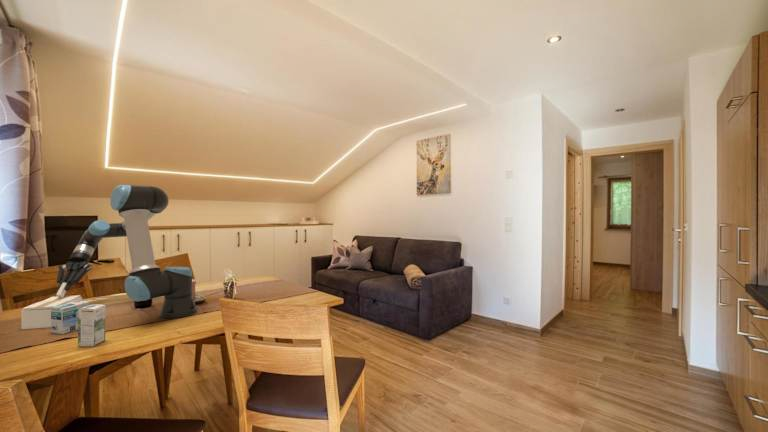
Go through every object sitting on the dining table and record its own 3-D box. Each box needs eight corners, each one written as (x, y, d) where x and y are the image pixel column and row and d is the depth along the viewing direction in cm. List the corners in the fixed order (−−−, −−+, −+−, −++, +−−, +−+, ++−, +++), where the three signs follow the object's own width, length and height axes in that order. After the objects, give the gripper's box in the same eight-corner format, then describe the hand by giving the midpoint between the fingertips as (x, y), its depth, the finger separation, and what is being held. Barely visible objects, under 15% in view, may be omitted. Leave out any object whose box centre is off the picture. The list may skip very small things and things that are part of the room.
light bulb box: (62, 334, 133) (62, 308, 132) (50, 333, 134) (49, 307, 134) (91, 325, 143) (90, 301, 143) (79, 324, 144) (78, 300, 144)
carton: (51, 315, 154) (51, 296, 154) (82, 313, 158) (82, 294, 157) (21, 329, 137) (21, 307, 137) (56, 326, 140) (56, 305, 140)
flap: (52, 298, 154) (52, 296, 154) (80, 296, 157) (80, 294, 157) (38, 304, 146) (38, 302, 146) (68, 302, 149) (68, 300, 149)
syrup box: (90, 340, 127) (89, 304, 127) (106, 340, 128) (105, 304, 127) (77, 346, 122) (77, 308, 121) (94, 346, 122) (94, 308, 122)
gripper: (99, 259, 171) (80, 299, 155) (69, 260, 167) (46, 301, 152) (94, 250, 166) (72, 291, 150) (62, 251, 162) (37, 292, 146)
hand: (59, 296), depth 151 cm, fingers closed
